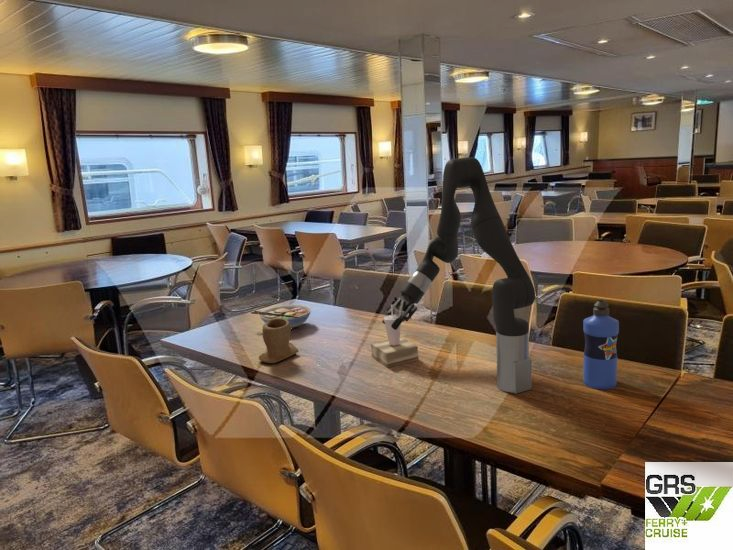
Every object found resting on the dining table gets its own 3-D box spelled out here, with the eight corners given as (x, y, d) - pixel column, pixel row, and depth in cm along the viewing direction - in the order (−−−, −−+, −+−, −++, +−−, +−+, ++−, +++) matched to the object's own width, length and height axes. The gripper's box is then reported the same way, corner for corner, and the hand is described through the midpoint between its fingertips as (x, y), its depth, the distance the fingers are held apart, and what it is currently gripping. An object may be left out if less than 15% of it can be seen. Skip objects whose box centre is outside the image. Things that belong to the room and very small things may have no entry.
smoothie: (403, 340, 191) (401, 302, 188) (403, 346, 185) (400, 307, 182) (385, 341, 192) (382, 303, 189) (384, 347, 185) (381, 308, 182)
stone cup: (276, 368, 188) (271, 327, 185) (254, 362, 196) (249, 322, 193) (307, 354, 200) (303, 315, 196) (285, 349, 207) (281, 311, 204)
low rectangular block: (418, 359, 186) (417, 346, 185) (387, 367, 181) (386, 353, 180) (401, 349, 197) (400, 336, 196) (371, 357, 192) (370, 343, 191)
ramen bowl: (325, 322, 237) (324, 305, 235) (292, 339, 218) (290, 319, 217) (282, 317, 250) (280, 300, 249) (247, 332, 232) (245, 314, 230)
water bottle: (575, 380, 161) (576, 300, 156) (600, 374, 164) (601, 295, 159) (599, 392, 152) (600, 307, 147) (624, 385, 156) (627, 302, 150)
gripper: (399, 277, 193) (372, 315, 191) (419, 284, 180) (391, 325, 178) (412, 289, 196) (386, 326, 194) (434, 297, 184) (406, 337, 181)
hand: (388, 325), depth 186 cm, fingers closed on smoothie, 6 cm apart
